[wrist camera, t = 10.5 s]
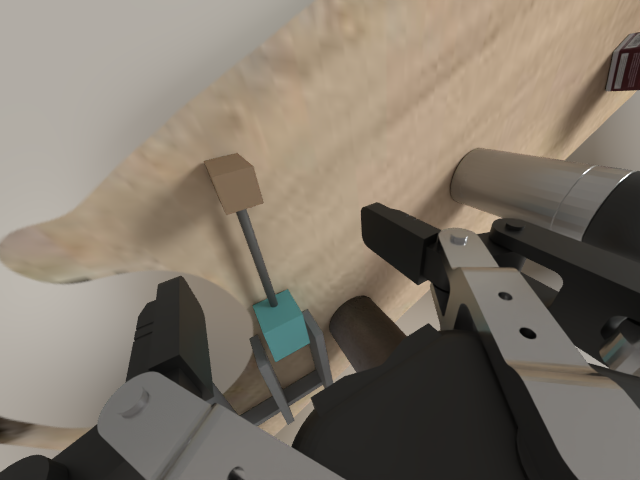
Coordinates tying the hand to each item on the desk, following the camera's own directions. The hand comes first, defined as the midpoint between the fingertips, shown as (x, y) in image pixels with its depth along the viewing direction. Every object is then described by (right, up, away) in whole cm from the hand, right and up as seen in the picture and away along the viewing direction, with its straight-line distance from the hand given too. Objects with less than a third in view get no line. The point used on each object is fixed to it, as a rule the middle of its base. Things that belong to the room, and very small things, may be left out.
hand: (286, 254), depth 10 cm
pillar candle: (+7, -13, +33) cm, 37 cm away
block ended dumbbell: (-6, -2, +18) cm, 19 cm away
